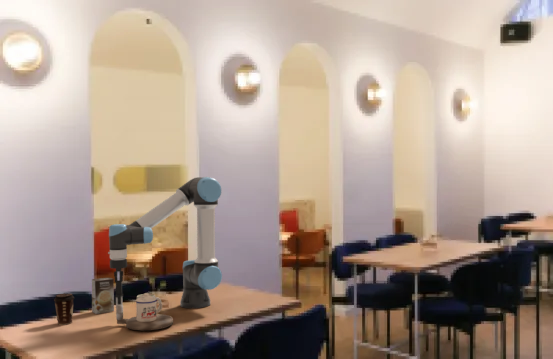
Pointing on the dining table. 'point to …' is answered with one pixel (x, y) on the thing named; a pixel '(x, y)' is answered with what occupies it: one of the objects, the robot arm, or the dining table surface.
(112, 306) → the coffee box
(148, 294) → the mug
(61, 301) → the coffee cup
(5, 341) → the dining table surface
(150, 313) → the teacup with lid
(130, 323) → the turntable
